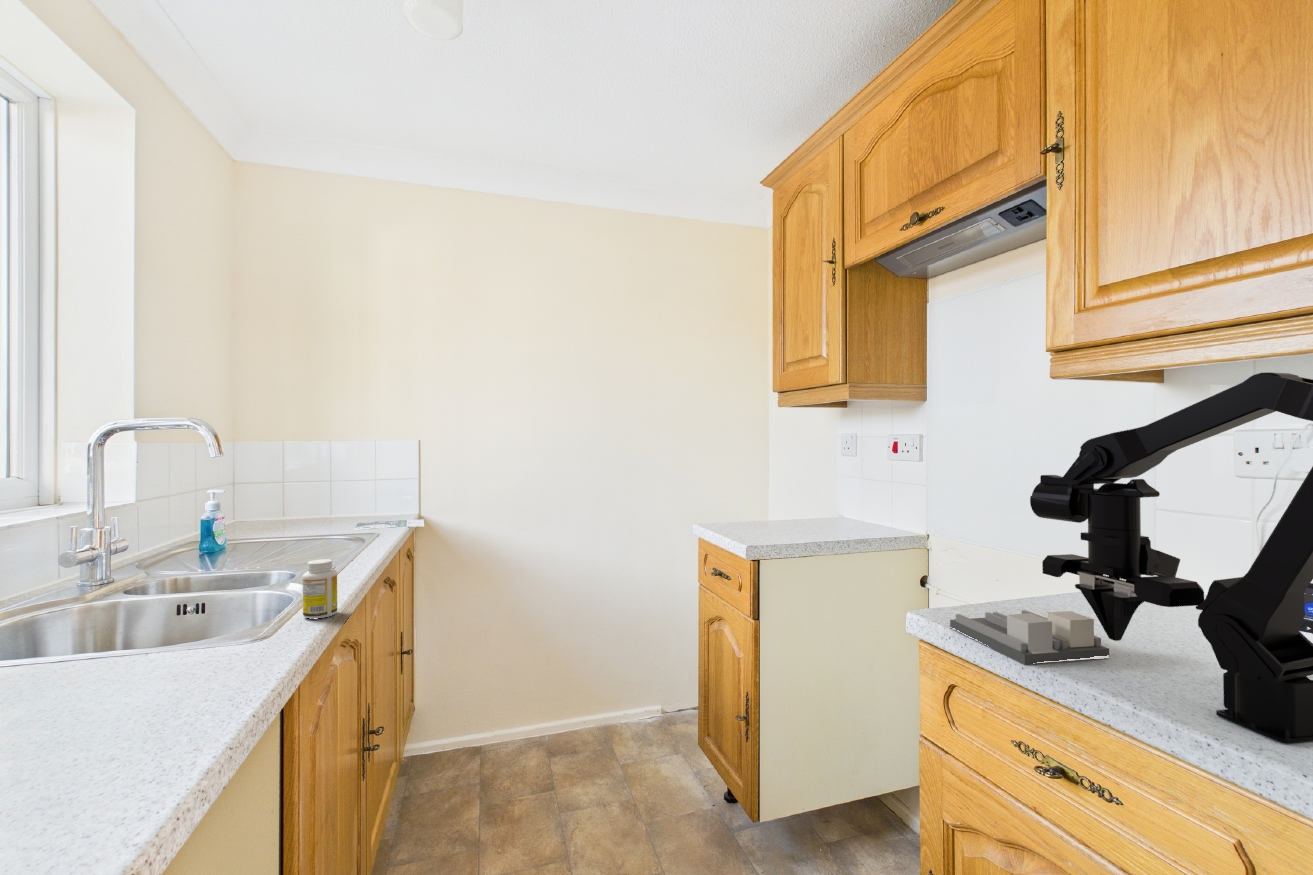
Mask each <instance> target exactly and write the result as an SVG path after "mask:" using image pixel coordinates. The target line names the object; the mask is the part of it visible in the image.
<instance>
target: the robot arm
mask: <svg viewBox="0 0 1313 875" xmlns="http://www.w3.org/2000/svg"><path fill="white" fill-rule="evenodd" d="M1275 412H1276V413H1277V412H1278V413H1281V414H1285V415H1287V416H1290V417H1293V418H1294V417H1295V418H1297V419H1301V420H1305V421H1311V422H1313V379H1312V378H1305V377H1302V376H1299V375H1296V374H1293V373H1289V372H1288V373H1287V372H1286V373H1285V372H1259V373H1256V374H1253V375H1251V376H1249V377H1248V378H1247V379H1245V380H1244V381H1243V382H1240V383H1237V384H1235V385H1234V386H1231V387H1229V388H1226V389H1225V390H1222V391H1220V392H1218V393H1215V394H1214V395H1210V396H1209V397H1207V398H1204V399H1203V400H1200V401H1198V402H1196V403H1193V404H1191V405H1189V406H1186V407H1184V408H1182V409H1180V410H1178V411H1176V412H1173V413H1171V414H1168V415H1166V416H1164V417H1162V418H1159V419H1158V420H1154V421H1153V422H1151V423H1148V424H1146V425H1143V426H1140V427H1139V426H1138V427H1136V428H1131V429H1126V430H1120V431H1116V432H1111V433H1108V434H1104V435H1101V436H1100V435H1099V436H1095V437H1092V438H1089V439H1087V440H1086V441H1084V442H1083V443H1082V444H1081V445H1080V451H1079V454H1078V457H1077V458H1076V459H1075V460H1074V461H1073V463H1072V464H1071V465H1070V467H1069V468H1068V470H1067V471H1066V472H1065V473H1064V475H1063V476H1060V475H1057V474H1041V475H1040V476H1039V477H1040V478H1039V479H1040V482H1039V483H1038V484H1036V486H1035V487H1034V489H1033V491H1032V494H1031V495H1030V497H1029V503H1030V504H1029V505H1030V508H1031V510H1032V512H1033V514H1034V515H1035V516H1037V517H1039V518H1040V519H1049V520H1056V521H1064V522H1071V523H1077V524H1079V523H1080V524H1081V523H1083V522H1085V521H1087V531H1086V532H1080V540H1081V541H1087V548H1088V550H1087V553H1088V554H1087V555H1088V556H1087V557H1085V556H1081V555H1078V554H1073V553H1071V554H1070V553H1068V554H1049V555H1048V554H1047V556H1045V558H1044V559H1043V560H1042V574H1045V575H1047V576H1051V577H1054V578H1061V577H1062V576H1063V575H1064V574H1065V573H1069V574H1072V575H1073V574H1074V575H1078V576H1079V583H1075V584H1074V587H1075V588H1074V589H1076V590H1079V591H1080V593H1081V594H1082V595H1083V597H1084V599H1085V600H1086V601H1087V603H1088V605H1089V607H1091V609H1092V610H1093V612H1094V614H1095V616H1096V618H1097V619H1098V622H1099V623H1100V625H1101V626H1102V629H1103V630H1104V632H1105V633H1106V635H1107V637H1108V639H1109V640H1112V641H1115V642H1117V641H1119V642H1120V641H1121V640H1122V639H1123V637H1124V635H1125V632H1126V630H1127V628H1128V627H1129V626H1128V625H1129V624H1130V622H1131V620H1132V618H1133V615H1134V614H1135V612H1136V611H1137V609H1138V608H1139V607H1140V606H1141V605H1142V604H1143V603H1148V604H1151V605H1156V606H1160V607H1165V608H1166V607H1167V608H1179V607H1193V606H1195V609H1196V610H1198V611H1201V612H1200V613H1199V616H1198V618H1197V625H1198V628H1200V629H1201V630H1200V631H1201V633H1202V635H1203V637H1204V638H1205V639H1206V640H1207V642H1208V643H1209V644H1210V646H1211V648H1212V651H1213V653H1214V655H1215V658H1216V661H1217V663H1218V665H1219V667H1220V669H1222V670H1225V671H1226V672H1223V677H1222V678H1223V682H1222V683H1223V685H1222V686H1223V689H1222V690H1223V694H1222V695H1223V707H1224V708H1225V709H1218V710H1216V711H1215V714H1216V716H1217V715H1218V716H1217V717H1220V718H1222V719H1224V720H1227V721H1229V722H1232V723H1234V724H1236V725H1238V726H1242V727H1243V728H1246V729H1248V730H1250V731H1253V732H1255V733H1258V734H1259V735H1262V736H1265V737H1267V738H1269V739H1272V740H1274V741H1277V742H1279V743H1283V744H1293V743H1301V742H1310V741H1313V679H1310V678H1309V676H1313V642H1311V640H1309V638H1307V637H1306V635H1304V634H1303V633H1302V632H1301V631H1300V630H1301V627H1302V625H1303V622H1304V618H1305V616H1306V610H1305V595H1306V594H1305V593H1306V591H1307V589H1308V587H1309V585H1310V584H1311V582H1312V581H1313V466H1312V467H1311V468H1310V470H1309V471H1308V474H1307V475H1306V477H1305V479H1304V480H1303V481H1302V483H1301V485H1300V486H1299V488H1298V490H1297V491H1296V493H1295V495H1294V496H1293V498H1292V499H1291V501H1290V502H1289V504H1288V505H1287V508H1285V511H1284V512H1283V514H1282V516H1281V518H1280V519H1279V521H1278V522H1277V524H1276V525H1275V527H1274V529H1273V530H1272V532H1271V534H1270V535H1269V536H1268V538H1267V539H1266V541H1265V543H1264V545H1263V547H1262V548H1261V550H1260V552H1259V553H1258V554H1257V557H1256V558H1255V559H1254V562H1253V563H1252V564H1251V566H1250V568H1249V569H1248V571H1247V572H1246V574H1244V575H1243V576H1241V577H1240V576H1239V577H1231V578H1221V579H1215V580H1213V581H1212V582H1211V584H1210V586H1209V588H1208V591H1207V594H1206V596H1205V591H1204V589H1203V587H1202V586H1201V585H1200V584H1199V583H1198V582H1197V581H1194V580H1189V579H1186V578H1185V579H1184V578H1180V577H1178V576H1177V574H1178V573H1177V572H1178V569H1179V566H1180V562H1181V558H1179V557H1176V556H1174V555H1171V554H1169V553H1166V552H1162V551H1160V550H1157V549H1154V548H1152V546H1151V545H1152V544H1151V543H1152V542H1151V539H1150V537H1149V536H1146V535H1141V534H1142V533H1141V531H1142V530H1141V526H1142V525H1141V520H1142V519H1141V513H1142V512H1141V498H1143V499H1144V498H1158V497H1160V495H1161V494H1160V491H1158V490H1156V488H1154V487H1153V486H1151V485H1149V483H1148V482H1147V481H1146V479H1144V478H1137V477H1139V476H1141V475H1143V474H1144V473H1146V472H1148V471H1150V470H1152V469H1153V468H1155V467H1156V466H1158V465H1160V464H1161V463H1162V462H1163V461H1165V459H1166V458H1167V457H1169V455H1171V454H1173V453H1175V452H1176V451H1179V450H1181V449H1183V448H1186V447H1188V446H1191V445H1194V444H1196V443H1198V442H1201V441H1203V440H1207V439H1209V438H1211V437H1215V436H1217V435H1219V434H1222V433H1224V432H1227V431H1229V430H1232V429H1234V428H1237V427H1239V426H1242V425H1244V424H1245V425H1246V424H1247V423H1250V422H1253V421H1255V420H1257V419H1259V418H1263V417H1265V416H1267V415H1271V414H1273V413H1275ZM1122 479H1130V481H1128V482H1127V483H1122V482H1121V483H1120V482H1118V483H1117V481H1120V480H1122ZM1098 484H1099V485H1100V486H1099V488H1095V485H1098Z"/></svg>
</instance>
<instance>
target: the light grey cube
mask: <svg viewBox="0 0 1313 875" xmlns="http://www.w3.org/2000/svg"><path fill="white" fill-rule="evenodd" d="M1006 616H1007V635H1008V636H1011V637H1013V638H1015V639H1017V640H1020V641H1022V642H1024V643H1026V650H1028V651H1031V650H1045V649H1053V641H1052V621H1049V620H1047V619H1044V618H1041V617H1039V616H1036V615H1033V614H1031V613H1028V614H1022V613H1014V614H1012V613H1011V614H1007V615H1006Z"/></svg>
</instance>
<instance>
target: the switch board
mask: <svg viewBox="0 0 1313 875" xmlns="http://www.w3.org/2000/svg"><path fill="white" fill-rule="evenodd" d="M1028 613H1031V614H1033V615H1036V616H1039V617H1041V618H1044V619H1047V620H1048V617H1044V616H1042V615H1040V614H1037V613H1034V612H1032V611H1029V610H1026V609H1024V610H1023V609H1022V610H1021V614H1028ZM984 616H985V617H972V618H970V617H967V616H965V615H962V614H960V613H959V614H957V613H956V614H955V619H954V618H953V619H949V625H950V626H949V628H950V627H952V628H955V629H956V630H959V631H960V632H962V633H964V634H966V635H968V636H970V637H972V638H974V639H977V640H978V641H980V642H982V643H983V644H986V645H988V646H989V647H991V648H993V649H992V650H993V651H994V652H995V651H996V652H997V653H1000V654H1001V655H1003V656H1005V657H1007V658H1010V659H1012V660H1013V661H1016V662H1017V663H1020V664H1021V665H1024V666H1028V665H1031V664H1032V665H1034V664H1033V663H1037V662H1044V661H1059V660H1067V659H1080V658H1090V657H1094V656H1107V655H1109V656H1110V648H1109V647H1106V646H1103V645H1102V637H1100V636H1096V635H1094V646H1088V647H1073V648H1070V647H1068V640H1066V639H1063V638H1061V637H1058V636H1056V635H1053V634H1052V641H1053V649H1045V650H1031V651H1028V650H1026V643H1024V642H1022V641H1020V640H1017V639H1015V638H1013V637H1011V636H1008V635H1007V615H1006V614H1003V613H1000V612H998V611H993V612H985V614H984ZM983 644H982V645H983ZM989 647H988V648H989ZM991 648H990V649H991Z"/></svg>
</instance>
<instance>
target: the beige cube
mask: <svg viewBox="0 0 1313 875" xmlns="http://www.w3.org/2000/svg"><path fill="white" fill-rule="evenodd" d="M1046 615H1047V618H1048V620H1049V621H1052V634H1053V635H1056V636H1058V637H1061V638H1063V639H1066V640H1068V647H1070V648H1073V647H1088V646H1094V636H1095V619H1094V618H1092V617H1088V616H1086V615H1083V614H1081V613H1077V612H1074V611H1071V610H1068V611H1067V610H1065V611H1062V610H1061V611H1050V612H1049V611H1048V612H1047V614H1046Z"/></svg>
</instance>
